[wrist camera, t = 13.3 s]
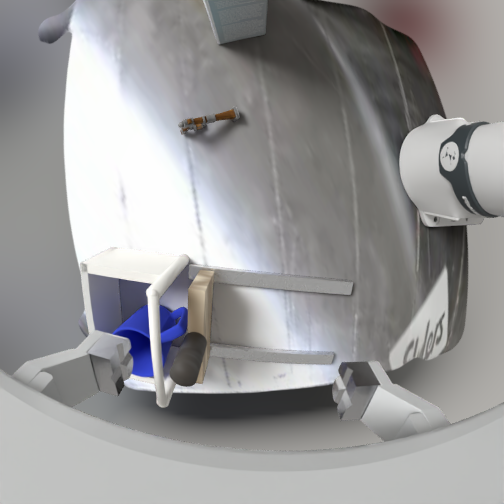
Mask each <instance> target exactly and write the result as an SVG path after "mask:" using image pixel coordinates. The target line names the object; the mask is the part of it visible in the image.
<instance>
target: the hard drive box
mask: <svg viewBox="0 0 504 504" xmlns="http://www.w3.org/2000/svg"><path fill="white" fill-rule="evenodd" d="M203 1H204V4H205V7H206V10H207V13H208V16H209V19H210V22H211V25H212V28H213V31H214V34H215V37H216V40H217V43H218V44H224V43H228V42H232V41H236V40H241V39H245V38H250V37H255V36H260V35H265V33H266V19H267V4H268V0H203Z"/></svg>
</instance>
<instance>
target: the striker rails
mask: <svg viewBox="0 0 504 504" xmlns="http://www.w3.org/2000/svg"><path fill="white" fill-rule="evenodd" d="M200 270H206V271H214V281H213V282H217V283H226V284H235V285H244V286H254V287H263V288H273V289H284V290H295V291H306V292H318V293H331V294H344V295H351V291H352V287H353V282H352V280H343V279H332V278H321V277H310V276H300V275H290V274H280V273H270V272H260V271H251V270H242V269H232V268H223V267H215V266H206V265H197V264H190V265H189V279H193V280H194V279H195V277H196V276H197V274H198V272H199V271H200ZM210 356H215V357H223V358H231V359H241V360H251V361H263V362H277V363H295V364H331V363H332V360H333V357H334V354H333V352H321V351H296V350H279V349H266V348H254V347H244V346H234V345H226V344H217V343H210Z"/></svg>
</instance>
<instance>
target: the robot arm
mask: <svg viewBox="0 0 504 504" xmlns="http://www.w3.org/2000/svg"><path fill="white" fill-rule="evenodd" d="M399 166H400V174H401V179H402V182H403V185H404V188H405V190H406V192H407V194H408V196H409V197H410V199H411V200H412V201H413V203H414V204H415V205H416V206H417V208H418V210H419V213H420V216H421V219H422V222H423V224H424V225H425V226H427V227H439V226H457V225H475V224H481V223H482V222H483V220H484V218H485V217H487V218H491V217H492V218H494V217H498V216H501V217H504V121H502V122H497V123H492V124H490V123H487V122H471V123H468V122H467V121H465V119H464V118H453V119H444V118H442V117H441V116H439V115H432V116H431V117H430V118H429V119H428V120H427V122H426V123H425V124H424V125H422V126H419V127H417V128H415V129H413V130H412V131H411V132H410V133H409V134H408V135H407V137H406V138H405V140H404V142H403V144H402V148H401V151H400V160H399ZM434 218H435V221H434ZM130 349H131V344H130V340H129V339H128V338H124V337H120V336H117V335H113V334H109V333H105V332H102V331H98V330H95V331H93V332H92V333H91V334H90V335H89V336H88V337H87V338H86V339H85V340H84V341H83V342H82V343H81V344H80V345H79V346H78V347H77V348H76V349H69V350H66V351H62V352H59V353H55V354H52V355H49V356H45V357H42V358H38V359H35V360H31V361H27V362H26V363H25V364H24V365H22V366H21V367H20V368H19V369H18V370H17V371H16V372H15V373H14V374H13V375H12V376H10V375H9V374H7V373H6V372H4V371H2V370H1V369H0V504H504V402H503V403H501V404H499V405H497V406H495V407H493V408H491V409H489V410H486V411H484V412H482V413H479V414H477V415H474V416H472V417H469V418H467V419H464V420H461V421H459V422H456V423H453V424H450V422H449V421H448V420H447V418H446V417H445V415H444V414H443V412H442V411H441V409H440V408H439V407H438V406H436V405H434V404H432V403H430V402H428V401H426V400H424V399H423V398H421V397H419V396H417V395H415V394H413V393H412V392H410V391H408V390H406V389H404V388H402V387H401V386H399V385H397V384H392V382H391V381H390V379H389V377H388V376H387V374H386V373H385V371H384V369H383V368H382V366H381V365H380V363H379V362H378V361H365V362H342V363H341V365H340V367H339V370H338V371H339V374H340V376H338V377H337V378H336V379H335V381H334V384H333V398H334V401H335V402H336V403H337V404H339V405H338V408H337V411H338V414H339V417H340V419H341V421H346V420H361V421H362V422H363V423H364V424H365V425H366V426H367V427H369V428H370V429H371V430H372V431H373V432H374V433H375V434H377V435H378V436H379V437H380V438H381V439H382V440H383V441H385V442H380V443H374V444H368V445H361V446H354V447H346V448H336V449H323V450H304V451H269V450H267V451H266V450H248V449H236V448H225V447H217V446H209V445H203V444H196V443H190V442H185V441H180V440H175V439H170V438H165V437H161V436H156V435H152V434H149V433H145V432H141V431H137V430H134V429H130V428H127V427H124V426H120V425H117V424H114V423H111V422H108V421H105V420H103V419H100V418H97V417H94V416H92V415H89V414H87V413H84V412H82V411H79V410H77V409H74V408H72V407H73V406H75V405H77V404H79V403H81V402H82V401H84V400H86V399H88V398H89V397H91V396H93V395H95V394H96V393H98V392H99V391H101V392H105V393H108V394H112V395H115V396H119V394H120V393H121V391H122V389H123V388H124V381H125V380H127V379H129V377H130V375H131V373H132V369H133V358H132V356H131V355H130V353H129V350H130Z"/></svg>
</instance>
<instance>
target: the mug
mask: <svg viewBox="0 0 504 504" xmlns="http://www.w3.org/2000/svg"><path fill="white" fill-rule="evenodd" d="M159 311H160V334H161V350H162V363H163V368H164V365H165V362H166V359H167V356H168V353H169V350H170V347H171V344H172V341H173V340H174V339H176V338H178V337H180V336H182V335H183V334H185V332H186V330H187V327H188V310H187V309H186V308H185V307H181V308H178V309H176V310H175V311H173V312H172V313H171V312H170V311H169V310H168V309H166V308H165V307H163V306H161V305H159ZM179 317H181V318H180V320H179V322H178V324H177V325H176V322H175V320H176V319H178V318H179ZM112 334H113V335H117V336H120V337H124V338H128V339H129V340H130V344H131V349H130V350H129V353H130V355H131V356H132V358H133V369H132V373H131V374H133V375H136V376H140V377H152V376H154V372H153V363H152V354H151V343H150V330H149V314H148V304H147V305H145V306H143V307H141V308H140V309H139V310H138V311H136V312H135V313H134V314H133V315H132V316H131V317H130V318H128V319H127V320H126V321H125V322H124V323H123V324H122V325H121V326H119V327H118V328H117V329H116V330H115V331H114V332H113V333H112Z"/></svg>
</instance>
